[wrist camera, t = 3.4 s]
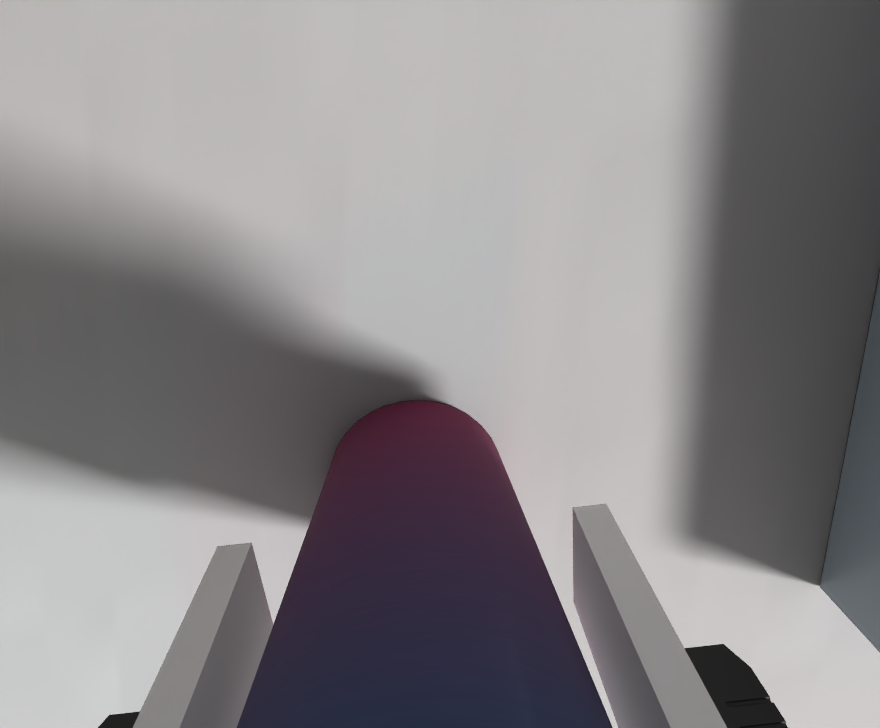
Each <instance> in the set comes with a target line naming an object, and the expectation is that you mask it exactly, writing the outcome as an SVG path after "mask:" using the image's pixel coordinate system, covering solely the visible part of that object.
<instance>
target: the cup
mask: <svg viewBox="0 0 880 728" xmlns="http://www.w3.org/2000/svg"><path fill="white" fill-rule="evenodd" d="M237 728H612V725H611V723H610V721H609V718H608V716H607V713H606V711H605V709H604V706H603V704H602V701H601V699H600V697H599V694H598V692H597V689H596V687H595V684H594V682H593V680H592V677H591V675H590V672H589V670H588V668H587V665H586V663H585V660H584V658H583V656H582V653H581V651H580V648H579V646H578V643H577V641H576V639H575V636H574V634H573V631H572V629H571V627H570V624H569V622H568V619H567V617H566V615H565V612H564V610H563V607H562V605H561V602H560V600H559V598H558V595H557V593H556V590H555V588H554V586H553V583H552V581H551V578H550V576H549V574H548V571H547V569H546V566H545V564H544V562H543V559H542V557H541V554H540V552H539V549H538V547H537V545H536V542H535V540H534V537H533V535H532V533H531V530H530V528H529V525H528V523H527V521H526V518H525V516H524V513H523V511H522V508H521V506H520V504H519V501H518V499H517V496H516V494H515V492H514V489H513V487H512V484H511V482H510V480H509V477H508V475H507V472H506V470H505V467H504V465H503V463H502V460H501V458H500V455H499V453H498V451H497V449H496V447H495V445H494V443H493V441H492V439H491V437H490V436H489V434H488V433H487V432H486V431H485V429H484V428H483V427H482V426H481V425H480V424H479V423H478V422H477V421H475V420H474V419H473V418H472V417H470V416H469V415H468V414H466V413H464V412H462V411H460V410H458V409H456V408H454V407H451V406H448V405H445V404H441V403H438V402H430V401H422V400H417V401H402V402H398V403H394V404H390V405H386V406H384V407H381V408H379V409H377V410H375V411H373V412H371V413H369V414H367V415H366V416H365V417H363V418H362V419H360V420H359V421H358V422H356V423H355V424H354V425H353V426H352V427H351V429H350V430H349V431H348V432H347V433H346V434H345V435H344V437H343V439H342V440H341V442H340V444H339V445H338V447H337V449H336V452H335V455H334V458H333V460H332V463H331V466H330V469H329V472H328V474H327V477H326V480H325V483H324V486H323V488H322V491H321V494H320V497H319V499H318V502H317V505H316V508H315V511H314V513H313V516H312V519H311V522H310V525H309V527H308V530H307V533H306V536H305V538H304V541H303V544H302V547H301V550H300V552H299V555H298V558H297V561H296V564H295V566H294V569H293V572H292V575H291V578H290V580H289V583H288V586H287V589H286V591H285V594H284V597H283V600H282V603H281V605H280V608H279V611H278V614H277V617H276V619H275V622H274V625H273V628H272V630H271V633H270V636H269V639H268V642H267V644H266V647H265V650H264V653H263V656H262V658H261V661H260V664H259V667H258V670H257V672H256V675H255V678H254V681H253V683H252V686H251V689H250V692H249V695H248V697H247V700H246V703H245V706H244V709H243V711H242V714H241V717H240V720H239V722H238V725H237Z"/></svg>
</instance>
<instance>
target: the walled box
mask: <svg viewBox="0 0 880 728" xmlns="http://www.w3.org/2000/svg"><path fill="white" fill-rule="evenodd" d="M820 588H821V589H822V590H823V591H824V592H825V593H826V594H827V595H828V596H829V597H830V599H831V600H832V601H833V602H834V603H835V604H836V605H837V606H838V607H839V608H840V609H841V611H842V612H843V613H844V614H845V615H846V616H847V617H848V618H849V619H850V620H851V621H852V623H853V624H854V625H855V626H856V627H857V628H858V629H859V630H860V631H861V632H862V633H863V635H864V636H865V637H866V638H867V639H868V640H869V641H870V642H871V643H872V644H873V645H874V647H875V648H876V649H877V650H878V651H879V652H880V274H879V279H878V285H877V290H876V295H875V300H874V306H873V311H872V316H871V321H870V327H869V332H868V337H867V342H866V348H865V353H864V358H863V363H862V369H861V374H860V379H859V384H858V390H857V395H856V400H855V405H854V411H853V416H852V421H851V426H850V431H849V437H848V442H847V447H846V452H845V458H844V463H843V468H842V473H841V479H840V484H839V489H838V494H837V500H836V505H835V510H834V515H833V521H832V526H831V531H830V536H829V542H828V547H827V552H826V557H825V563H824V568H823V573H822V578H821V584H820Z"/></svg>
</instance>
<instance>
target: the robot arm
mask: <svg viewBox="0 0 880 728" xmlns="http://www.w3.org/2000/svg"><path fill="white" fill-rule="evenodd" d="M573 586H574V604H575V607H576V609H577V612H578V615H579V618H580V621H581V624H582V626H583V629H584V632H585V635H586V638H587V640H588V643H589V646H590V649H591V652H592V654H593V657H594V660H595V663H596V666H597V668H598V671H599V674H600V677H601V680H602V682H603V685H604V688H605V691H606V694H607V696H608V699H609V702H610V705H611V708H612V710H613V713H614V716H615V719H616V722H617V724H618V727H619V728H788V727H787V726H786V721H785V720H784V718H783V717H782V715H781V714H780V712H779V710H778V709H777V707H776V706H775V704H774V703H772V702H771V701H770V697H769V695H768V693H767V692H766V690H765V689H764V687H763V686H762V684H761V683H760V681H759V680H758V678H757V676H756V675H755V673H754V672H753V670H752V669H751V667H750V666H748V665H747V664H746V663H745V662H744V661H743V660H741V659H740V658H739V657H738V656H737V655H735V654H734V653H733V652H732V651H731V650H730V649H728V648H727V647H726V646H725V645H724V644H719V645H710V646H702V647H693V648H684V647H683V645H682V643H681V641H680V640H679V638H678V636H677V634H676V632H675V630H674V628H673V627H672V625H671V623H670V621H669V619H668V617H667V615H666V614H665V612H664V610H663V608H662V606H661V604H660V603H659V601H658V599H657V597H656V595H655V593H654V591H653V590H652V588H651V586H650V584H649V582H648V580H647V578H646V577H645V575H644V573H643V571H642V569H641V567H640V566H639V564H638V562H637V560H636V558H635V556H634V554H633V553H632V551H631V549H630V547H629V545H628V543H627V542H626V540H625V538H624V536H623V534H622V532H621V530H620V529H619V527H618V525H617V523H616V521H615V519H614V517H613V516H612V514H611V512H610V510H609V508H608V506H607V505H606V504H600V505H591V506H582V507H573ZM272 628H273V622H272V619H271V615H270V611H269V607H268V603H267V600H266V596H265V592H264V588H263V584H262V581H261V577H260V573H259V569H258V565H257V562H256V558H255V554H254V550H253V546H252V543H244V544H235V545H226V546H217V549H216V551H215V553H214V555H213V557H212V559H211V561H210V564H209V566H208V568H207V570H206V572H205V574H204V576H203V579H202V581H201V583H200V585H199V587H198V589H197V591H196V593H195V596H194V598H193V600H192V602H191V604H190V606H189V608H188V611H187V613H186V615H185V617H184V619H183V621H182V623H181V626H180V628H179V630H178V632H177V634H176V636H175V638H174V640H173V643H172V645H171V647H170V649H169V651H168V653H167V655H166V658H165V660H164V662H163V664H162V666H161V668H160V670H159V673H158V675H157V677H156V679H155V681H154V683H153V685H152V687H151V690H150V692H149V694H148V696H147V698H146V700H145V702H144V705H143V707H142V709H141V711H140V712H133V713H124V714H115V715H109V716H108V717H107V718H106V719H105V721H104V722H103V723H102V724H101V725H100V726H99V727H98V728H237V725H238V722H239V720H240V717H241V714H242V711H243V709H244V706H245V703H246V700H247V697H248V695H249V692H250V689H251V686H252V683H253V681H254V678H255V675H256V672H257V670H258V667H259V664H260V661H261V658H262V656H263V653H264V650H265V647H266V644H267V642H268V639H269V636H270V633H271V630H272Z"/></svg>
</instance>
